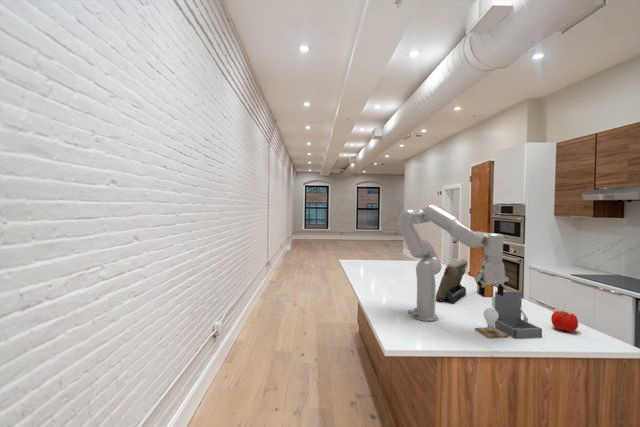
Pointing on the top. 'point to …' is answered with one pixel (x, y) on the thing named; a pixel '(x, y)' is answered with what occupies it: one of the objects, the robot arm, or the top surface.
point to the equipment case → (513, 316)
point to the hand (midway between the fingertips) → (490, 295)
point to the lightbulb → (491, 318)
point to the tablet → (452, 282)
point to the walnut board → (491, 333)
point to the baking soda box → (486, 288)
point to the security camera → (493, 302)
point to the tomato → (564, 321)
